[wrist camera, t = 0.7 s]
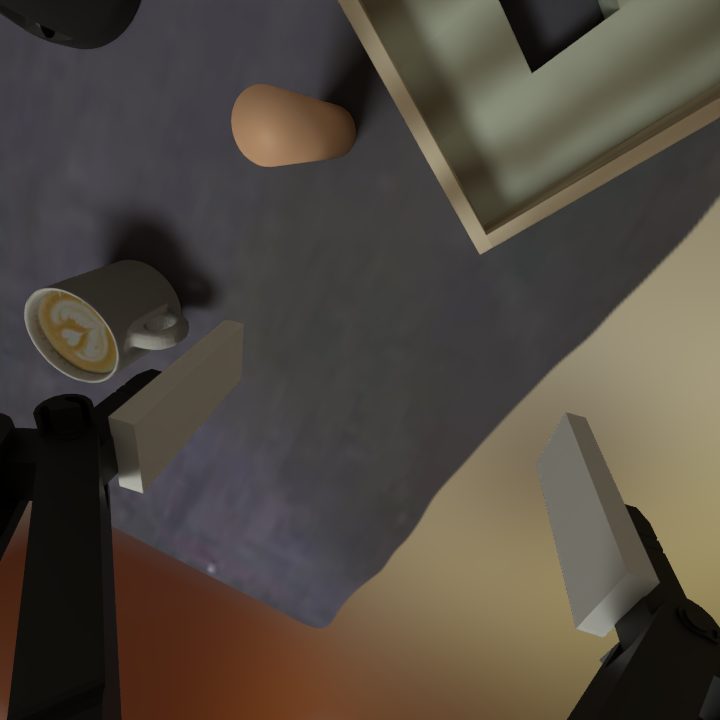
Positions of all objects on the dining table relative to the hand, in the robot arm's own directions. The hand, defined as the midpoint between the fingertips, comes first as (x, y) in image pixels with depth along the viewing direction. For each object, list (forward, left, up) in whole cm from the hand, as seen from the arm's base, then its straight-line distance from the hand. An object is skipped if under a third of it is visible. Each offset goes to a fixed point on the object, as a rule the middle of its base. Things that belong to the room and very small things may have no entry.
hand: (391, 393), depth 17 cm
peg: (-13, -2, -25) cm, 28 cm away
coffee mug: (-11, -30, -25) cm, 40 cm away
